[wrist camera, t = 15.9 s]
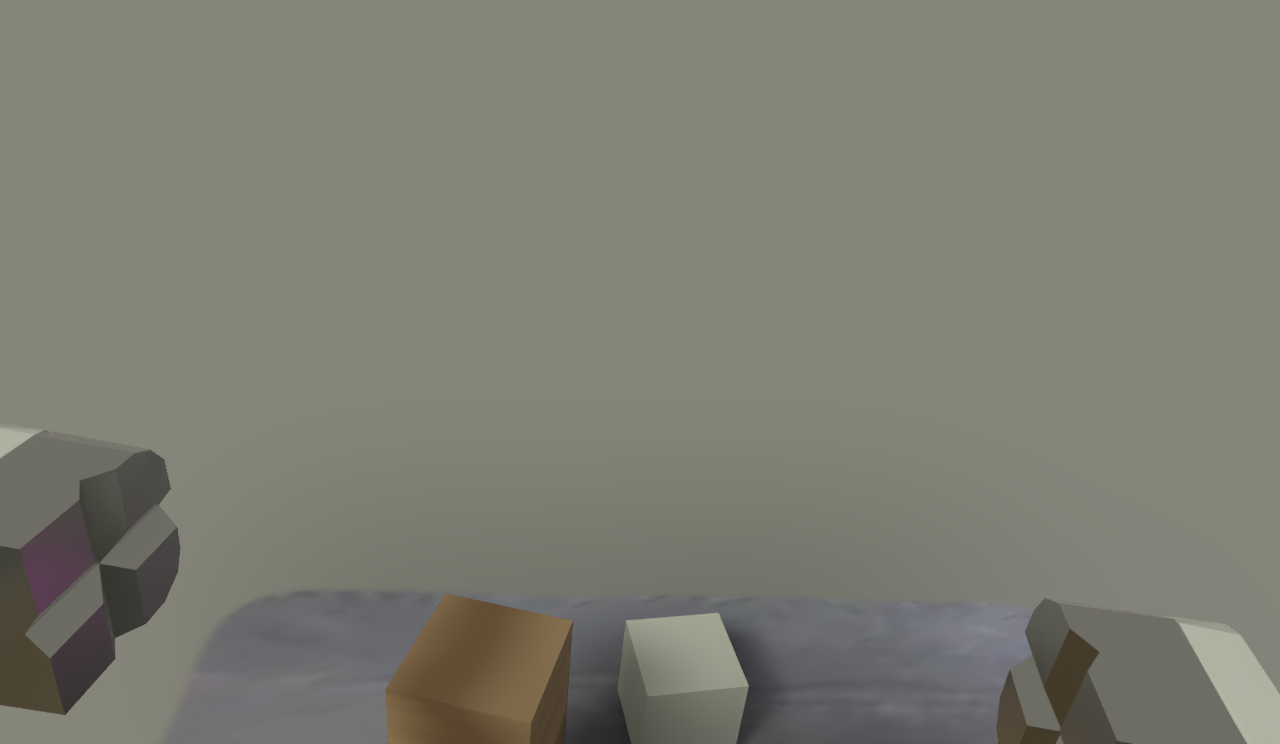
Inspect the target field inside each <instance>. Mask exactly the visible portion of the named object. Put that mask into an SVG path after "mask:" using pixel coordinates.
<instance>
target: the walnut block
mask: <svg viewBox="0 0 1280 744" xmlns="http://www.w3.org/2000/svg"><path fill="white" fill-rule="evenodd" d="M572 627H573V621H571V620H567V619H562V618H557V617H553V616H548V615H543V614H539V613H534V612H529V611H525V610H520V609H515V608H511V607H506V606H501V605H497V604H492V603H487V602H483V601H478V600H473V599H469V598H464V597H459V596H455V595H450V594H445V595H444V597H443V598H442V600H441V602H440V603H439V605H438V606H437V608H436V610H435V611H434V613H433V614H432V616H431V618H430V619H429V621H428V622H427V624H426V626H425V627H424V629H423V630H422V632H421V634H420V635H419V637H418V638H417V640H416V642H415V643H414V645H413V646H412V648H411V650H410V651H409V653H408V654H407V656H406V658H405V659H404V661H403V662H402V664H401V666H400V667H399V669H398V670H397V672H396V673H395V675H394V677H393V678H392V680H391V681H390V683H389V685H388V686H387V688H386V707H387V728H388V744H564V738H565V724H566V710H567V696H568V682H569V668H570V655H571V641H572Z"/></svg>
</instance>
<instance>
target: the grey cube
mask: <svg viewBox="0 0 1280 744" xmlns="http://www.w3.org/2000/svg"><path fill="white" fill-rule="evenodd" d="M748 688H749V685H748V683H747V680H746V678H745V676H744V673H743V671H742V668H741V666H740V664H739V661H738V659H737V656H736V654H735V651H734V649H733V647H732V644H731V642H730V639H729V637H728V635H727V632H726V630H725V627H724V625H723V623H722V620H721V618H720V615H719V613H712V614H700V615H687V616H675V617H663V618H651V619H639V620H626V625H625V633H624V641H623V649H622V657H621V665H620V673H619V681H618V693H619V697H620V701H621V705H622V709H623V713H624V717H625V721H626V725H627V729H628V733H629V737H630V741H631V744H736V743H737V738H738V734H739V729H740V724H741V720H742V715H743V711H744V706H745V701H746V697H747V692H748Z"/></svg>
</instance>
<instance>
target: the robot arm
mask: <svg viewBox="0 0 1280 744" xmlns="http://www.w3.org/2000/svg"><path fill="white" fill-rule="evenodd" d="M170 489H171V488H170V483H169V479H168V475H167V469H166V465H165V460H164V459H163V458H162V457H160V456H159V455H157V454H156V453H154V452H153V451H151V450H149V449H143V448H138V447H132V446H127V445H122V444H117V443H111V442H106V441H101V440H96V439H90V438H85V437H80V436H74V435H69V434H64V433H58V432H48V431H45V430H40V429H34V428H28V427H23V426H17V425H10V424H0V705H4V706H10V707H16V708H22V709H29V710H35V711H42V712H48V713H54V714H61V715H66V713H67V712H68V711H69V710H70V709H71V708H72V707H73V706H74V704H75V703H76V702H77V701H78V700H79V699H80V698H81V696H82V695H83V694H84V693H85V692H86V691H87V689H89V688H90V687H91V685H92V684H93V683H94V682H95V681H96V680H97V678H98V677H99V676H100V675H101V674H102V673H103V672H104V671H105V670H106V669H107V667H108V666H109V665H110V664H111V663H112V662H113V661H114V660H115V638H116V637H118V636H120V635H122V634H125V633H127V632H129V631H131V630H133V629H135V628H138V627H140V626H142V625H144V624H146V623H147V622H148V621H149V620H150V618H151V617H152V616H153V615H154V614H155V613H156V611H157V610H158V609H159V608H160V607H161V605H162V604H163V603H164V602H165V600H166V598H167V596H168V593H169V591H170V589H171V586H172V584H173V582H174V580H175V577H176V575H177V573H178V565H179V555H180V543H179V536H178V529H177V527H176V525H175V524H174V523H173V522H172V521H171V519H170V518H169V517H168V516H167V515H166V513H165V512H164V511H163V510H162V509H161V507H160V506H159V504H160V503H161V501H162V500H163V499H164V497H165V496H166V494H167V493H168V492H169V491H170ZM1025 634H1026V637H1027V640H1028V643H1029V646H1030V649H1031V651H1032V654H1033V655H1032V656H1030V657H1029V658H1027V659H1025V660H1024V661H1022V662H1021V663H1019V664H1017V665H1016V666H1014V667H1013V668H1011V669H1010V670H1009V673H1008V676H1007V679H1006V682H1005V685H1004V687H1003V690H1002V693H1001V696H1000V702H999V712H998V722H997V733H998V744H1280V694H1279V693H1278V691H1277V690H1276V688H1275V686H1274V685H1273V684H1272V682H1271V680H1270V679H1269V677H1268V676H1267V674H1266V673H1265V671H1264V670H1263V668H1262V667H1261V665H1260V664H1259V662H1258V661H1257V659H1256V658H1255V656H1254V655H1253V653H1252V652H1251V650H1250V649H1249V647H1248V645H1247V644H1246V642H1245V641H1244V640H1243V638H1242V636H1241V635H1240V634H1239V633H1237V632H1236V631H1235V630H1233V629H1232V628H1230V627H1229V626H1227V625H1226V624H1223V623H1216V622H1209V621H1201V620H1194V619H1187V618H1180V617H1172V616H1165V615H1164V616H1162V617H1158V616H1152V615H1147V614H1140V613H1134V612H1128V611H1122V610H1116V609H1109V608H1103V607H1097V606H1091V605H1084V604H1078V603H1072V602H1066V601H1060V600H1053V599H1046V598H1045V599H1044V600H1043V601H1042V602H1041V603H1040V604H1039V605H1038V606H1037V607H1036V609H1035V610H1034V611H1033V614H1032V616H1031V619H1030V621H1029V623H1028V626H1027V628H1026V630H1025Z"/></svg>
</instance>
